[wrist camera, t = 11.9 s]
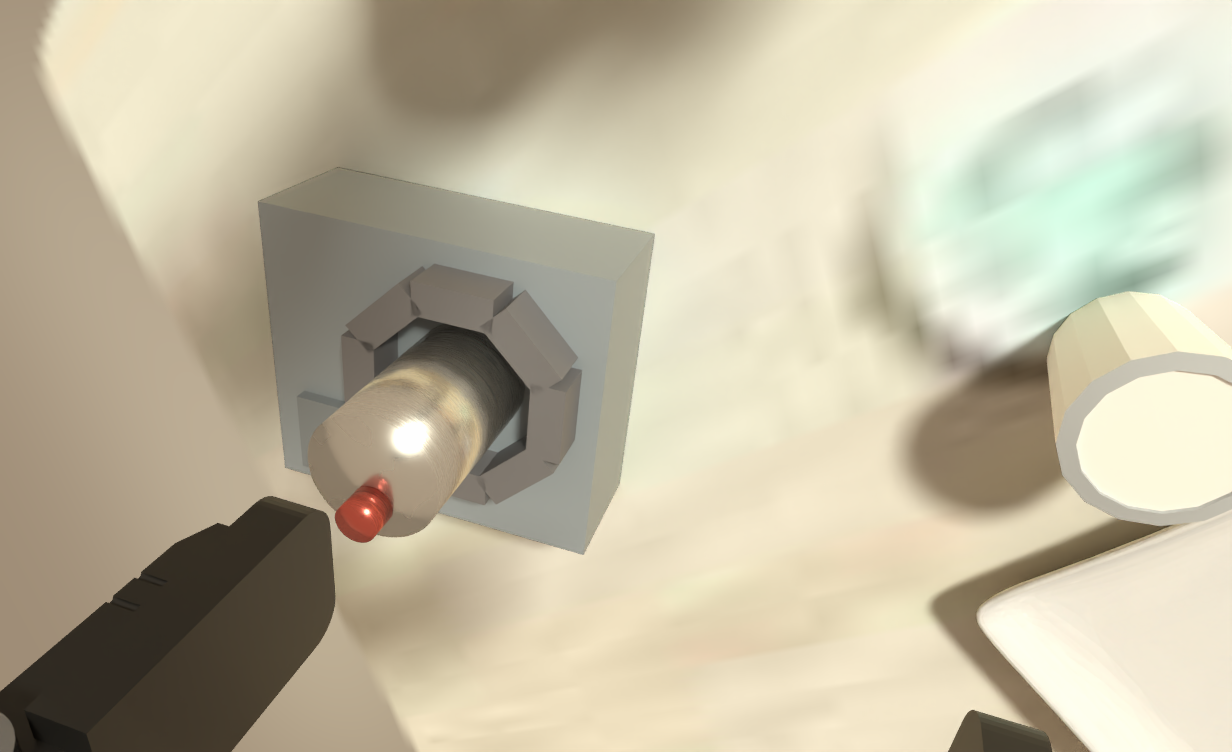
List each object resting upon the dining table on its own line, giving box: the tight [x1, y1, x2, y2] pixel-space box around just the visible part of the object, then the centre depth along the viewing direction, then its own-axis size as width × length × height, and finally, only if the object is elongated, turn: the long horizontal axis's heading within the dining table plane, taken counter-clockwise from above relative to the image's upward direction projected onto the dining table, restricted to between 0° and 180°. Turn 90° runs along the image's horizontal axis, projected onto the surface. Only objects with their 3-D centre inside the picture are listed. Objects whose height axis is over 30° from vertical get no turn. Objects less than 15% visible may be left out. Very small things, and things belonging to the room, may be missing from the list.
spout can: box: [308, 324, 525, 543], centre depth 33 cm, size 5×5×9 cm
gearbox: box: [258, 167, 655, 555], centre depth 40 cm, size 17×16×8 cm
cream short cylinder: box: [1047, 291, 1232, 526], centre depth 31 cm, size 7×7×7 cm
